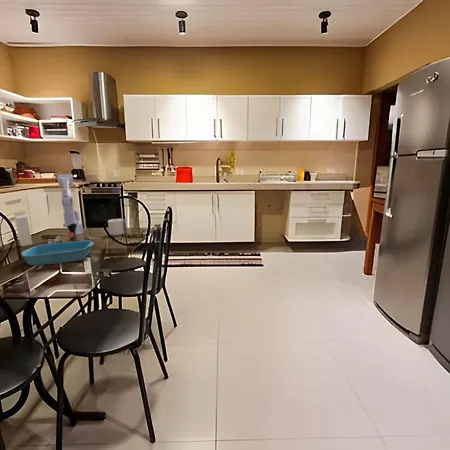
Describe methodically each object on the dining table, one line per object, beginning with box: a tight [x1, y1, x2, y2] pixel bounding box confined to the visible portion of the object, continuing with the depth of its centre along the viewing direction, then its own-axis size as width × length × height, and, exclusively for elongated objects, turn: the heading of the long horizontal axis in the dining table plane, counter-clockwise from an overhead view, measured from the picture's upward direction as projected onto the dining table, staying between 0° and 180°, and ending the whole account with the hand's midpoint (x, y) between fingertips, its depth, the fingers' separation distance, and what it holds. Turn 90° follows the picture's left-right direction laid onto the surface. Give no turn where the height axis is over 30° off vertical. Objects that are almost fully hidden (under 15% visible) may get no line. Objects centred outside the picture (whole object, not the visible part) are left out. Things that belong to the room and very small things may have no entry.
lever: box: [59, 231, 74, 237], centre depth 210 cm, size 12×3×3 cm, turn 63°
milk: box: [14, 211, 33, 247], centre depth 207 cm, size 6×6×22 cm
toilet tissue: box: [107, 218, 128, 236], centre depth 227 cm, size 11×12×10 cm
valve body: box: [47, 233, 78, 244], centre depth 213 cm, size 20×6×4 cm, turn 156°
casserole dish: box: [20, 239, 95, 266], centre depth 175 cm, size 37×22×7 cm, turn 101°
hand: (73, 235), depth 210 cm, fingers closed, pressing on lever
